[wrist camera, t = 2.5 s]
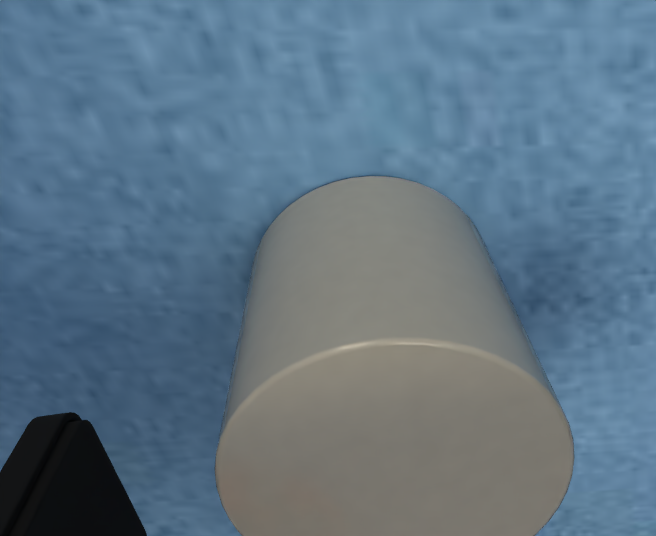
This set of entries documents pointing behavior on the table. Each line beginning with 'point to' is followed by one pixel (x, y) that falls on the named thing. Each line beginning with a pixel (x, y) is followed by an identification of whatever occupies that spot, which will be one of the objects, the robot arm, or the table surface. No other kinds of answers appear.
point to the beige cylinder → (386, 379)
